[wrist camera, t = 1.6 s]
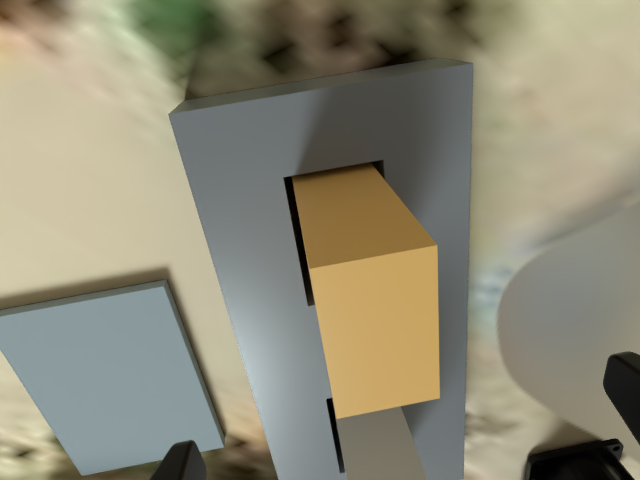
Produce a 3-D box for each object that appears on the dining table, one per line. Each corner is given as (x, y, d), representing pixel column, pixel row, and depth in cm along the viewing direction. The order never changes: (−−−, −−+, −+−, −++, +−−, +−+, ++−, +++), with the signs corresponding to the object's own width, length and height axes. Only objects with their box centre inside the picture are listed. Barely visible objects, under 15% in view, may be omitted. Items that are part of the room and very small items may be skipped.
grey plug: (379, 347, 23) (442, 519, 15) (385, 411, 25) (443, 590, 17) (324, 357, 23) (358, 537, 15) (336, 421, 25) (370, 606, 17)
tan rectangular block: (358, 147, 18) (437, 245, 10) (369, 250, 20) (439, 398, 12) (288, 160, 18) (309, 268, 10) (307, 262, 20) (336, 419, 12)
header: (439, 57, 16) (473, 63, 14) (443, 433, 26) (463, 478, 24) (183, 100, 16) (168, 114, 13) (286, 465, 26) (289, 515, 23)
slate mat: (166, 279, 19) (163, 286, 19) (224, 438, 24) (224, 447, 24) (-11, 312, 19) (-19, 320, 18) (85, 466, 24) (81, 475, 23)
